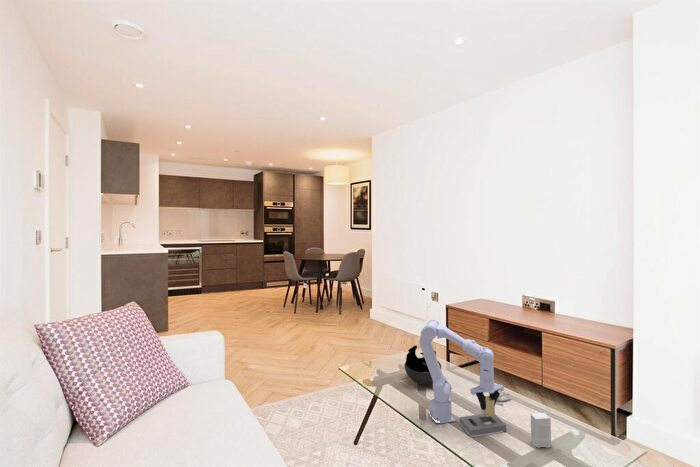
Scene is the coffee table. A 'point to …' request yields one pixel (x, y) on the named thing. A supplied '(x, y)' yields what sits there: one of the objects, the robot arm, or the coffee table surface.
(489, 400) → the square bit
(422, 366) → the coal bowl
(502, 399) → the soldier figure
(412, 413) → the coffee table surface
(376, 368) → the coffee table surface
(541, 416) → the skincare box
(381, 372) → the coffee table surface
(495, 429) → the bit holder
